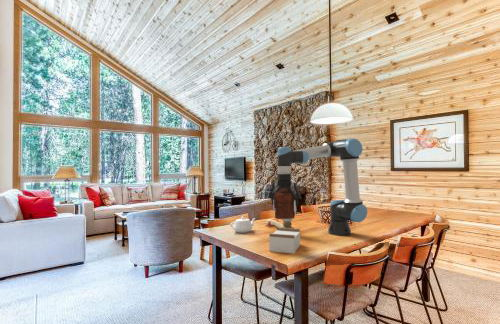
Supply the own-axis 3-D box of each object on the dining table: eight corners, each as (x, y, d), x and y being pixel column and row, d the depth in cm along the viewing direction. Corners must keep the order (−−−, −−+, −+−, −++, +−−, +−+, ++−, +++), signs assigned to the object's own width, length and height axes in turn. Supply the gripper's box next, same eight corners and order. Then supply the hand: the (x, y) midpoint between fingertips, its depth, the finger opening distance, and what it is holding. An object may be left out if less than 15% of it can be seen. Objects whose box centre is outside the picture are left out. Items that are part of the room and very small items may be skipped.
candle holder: (295, 236, 188) (294, 200, 189) (278, 235, 191) (278, 200, 191) (295, 232, 199) (295, 198, 200) (280, 231, 201) (279, 198, 202)
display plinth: (300, 244, 168) (299, 228, 168) (294, 253, 151) (294, 235, 151) (277, 242, 173) (277, 227, 173) (269, 251, 156) (269, 233, 156)
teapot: (235, 235, 192) (235, 219, 192) (225, 231, 204) (225, 216, 204) (261, 230, 204) (261, 216, 205) (251, 227, 216) (250, 213, 216)
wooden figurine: (291, 216, 167) (291, 186, 167) (296, 218, 161) (295, 187, 161) (272, 217, 164) (272, 187, 164) (276, 220, 158) (276, 188, 158)
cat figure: (290, 231, 208) (271, 223, 229) (291, 220, 207) (271, 212, 229) (279, 233, 203) (261, 224, 224) (280, 221, 202) (261, 213, 224)
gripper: (306, 173, 162) (306, 211, 162) (266, 173, 170) (266, 209, 170) (303, 173, 155) (304, 213, 155) (262, 173, 163) (263, 211, 163)
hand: (284, 211), depth 162 cm, fingers closed on wooden figurine, 11 cm apart
